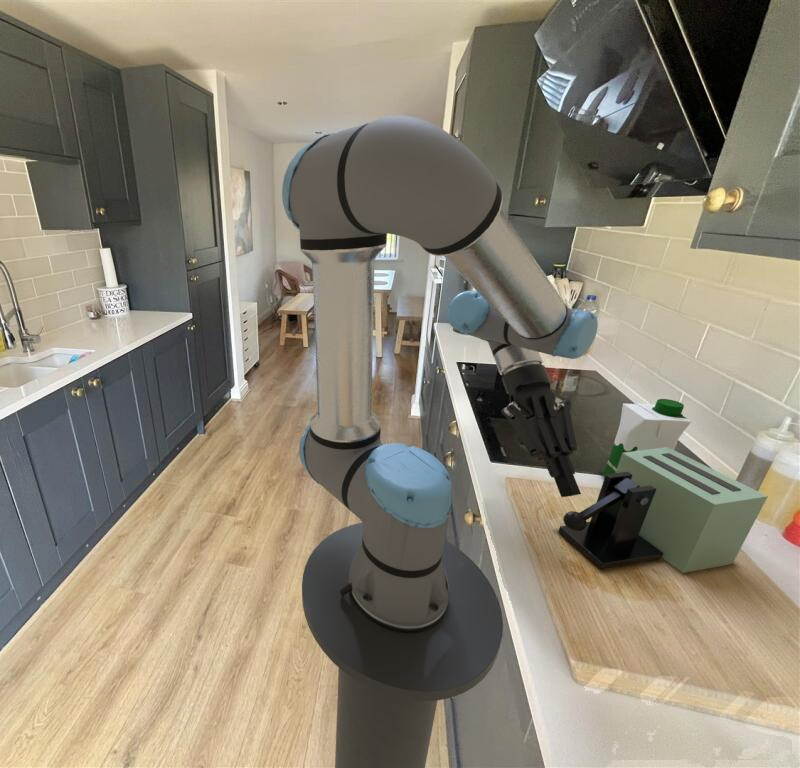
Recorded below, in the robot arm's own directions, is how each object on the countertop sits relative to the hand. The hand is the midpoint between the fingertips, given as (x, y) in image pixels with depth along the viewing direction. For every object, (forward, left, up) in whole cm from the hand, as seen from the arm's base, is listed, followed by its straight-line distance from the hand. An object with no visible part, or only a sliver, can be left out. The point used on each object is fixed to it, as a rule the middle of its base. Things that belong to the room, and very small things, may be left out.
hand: (571, 495), depth 67 cm
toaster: (+20, +6, -11) cm, 23 cm away
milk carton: (+23, +22, -11) cm, 34 cm away
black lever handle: (+6, 0, -3) cm, 6 cm away
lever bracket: (+9, +2, -11) cm, 14 cm away
